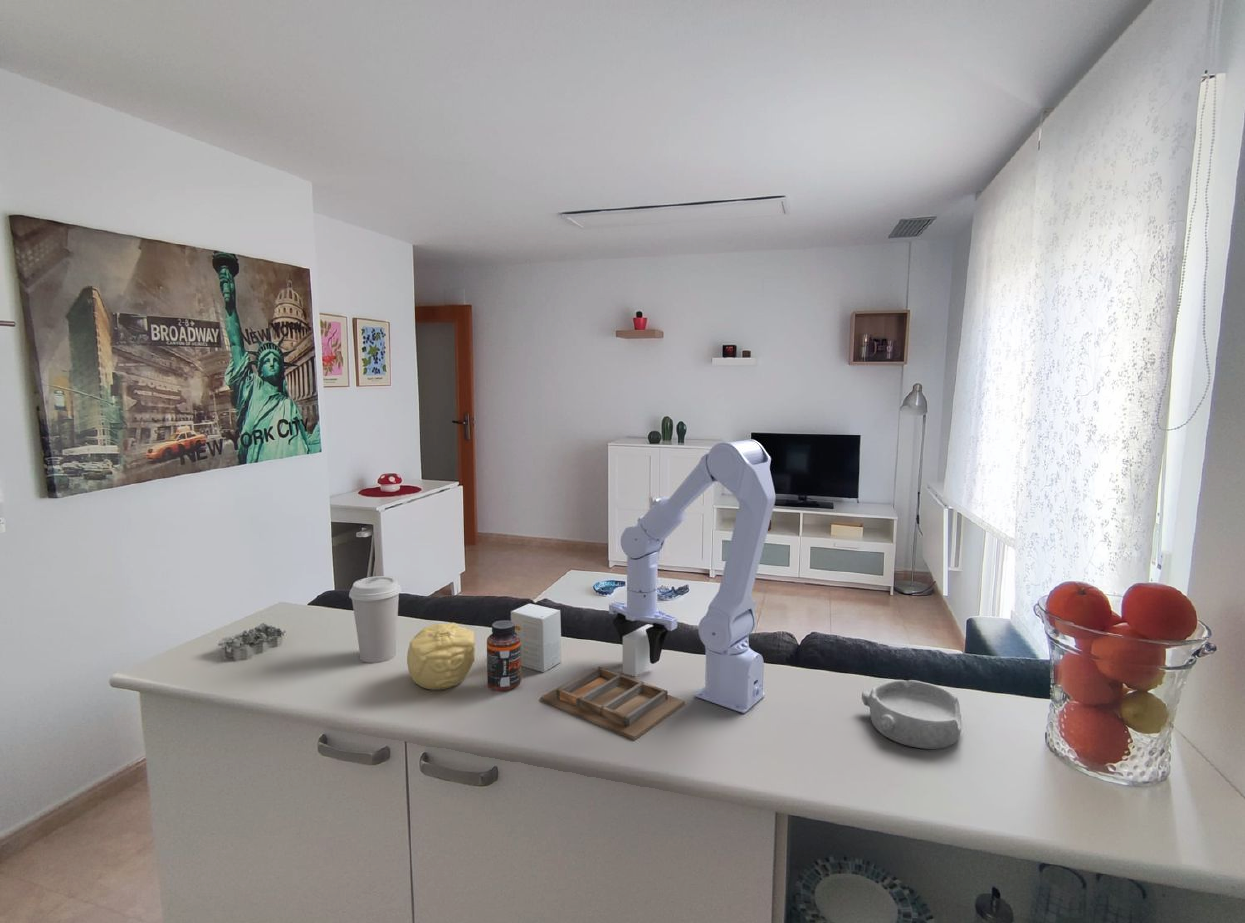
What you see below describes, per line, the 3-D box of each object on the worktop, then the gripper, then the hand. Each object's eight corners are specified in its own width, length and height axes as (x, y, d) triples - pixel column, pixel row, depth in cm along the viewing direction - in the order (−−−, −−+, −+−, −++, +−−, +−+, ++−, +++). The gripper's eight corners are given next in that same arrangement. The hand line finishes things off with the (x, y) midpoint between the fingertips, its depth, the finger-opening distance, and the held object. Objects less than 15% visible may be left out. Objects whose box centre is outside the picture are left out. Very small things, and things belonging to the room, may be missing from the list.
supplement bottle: (513, 694, 109) (512, 631, 108) (481, 691, 110) (480, 628, 109) (526, 679, 115) (525, 619, 114) (495, 676, 116) (493, 616, 115)
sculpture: (415, 703, 106) (412, 641, 105) (402, 675, 117) (400, 618, 115) (482, 688, 112) (480, 629, 110) (464, 662, 122) (463, 608, 121)
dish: (949, 711, 104) (951, 682, 104) (978, 759, 91) (980, 726, 90) (857, 701, 107) (858, 673, 107) (871, 747, 94) (873, 715, 93)
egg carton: (239, 664, 121) (238, 644, 121) (215, 657, 125) (213, 637, 124) (289, 644, 131) (288, 625, 131) (265, 638, 134) (264, 619, 134)
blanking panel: (660, 662, 122) (660, 627, 121) (635, 677, 116) (635, 640, 115) (647, 658, 124) (647, 624, 123) (622, 672, 118) (622, 636, 117)
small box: (562, 662, 122) (561, 610, 121) (543, 673, 117) (542, 619, 116) (530, 653, 126) (529, 602, 125) (511, 663, 122) (510, 610, 120)
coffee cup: (385, 642, 131) (382, 572, 130) (413, 653, 126) (411, 580, 124) (342, 658, 124) (338, 583, 122) (370, 670, 118) (366, 593, 116)
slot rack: (684, 704, 106) (684, 692, 106) (634, 740, 95) (634, 727, 95) (593, 671, 118) (593, 660, 118) (540, 700, 107) (539, 688, 107)
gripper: (598, 585, 119) (598, 654, 121) (662, 601, 111) (661, 675, 112) (621, 576, 125) (621, 642, 127) (683, 591, 116) (682, 662, 118)
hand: (641, 657), depth 120 cm, fingers open, 5 cm apart
